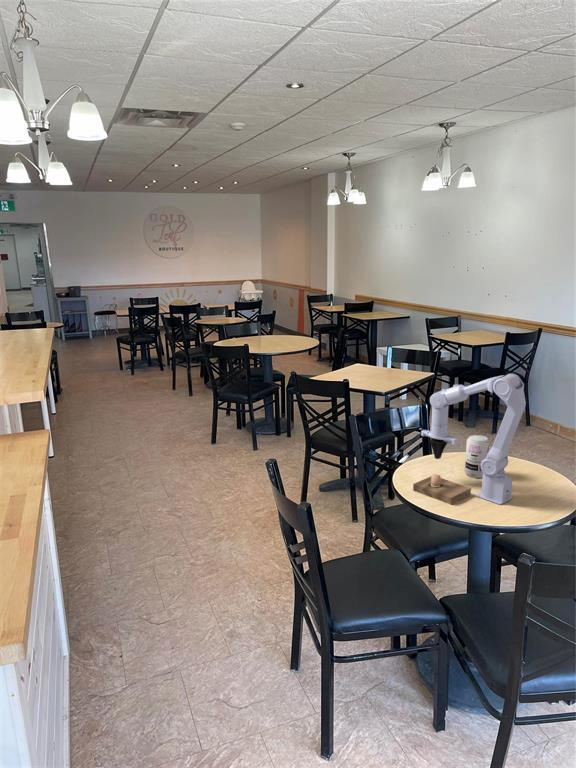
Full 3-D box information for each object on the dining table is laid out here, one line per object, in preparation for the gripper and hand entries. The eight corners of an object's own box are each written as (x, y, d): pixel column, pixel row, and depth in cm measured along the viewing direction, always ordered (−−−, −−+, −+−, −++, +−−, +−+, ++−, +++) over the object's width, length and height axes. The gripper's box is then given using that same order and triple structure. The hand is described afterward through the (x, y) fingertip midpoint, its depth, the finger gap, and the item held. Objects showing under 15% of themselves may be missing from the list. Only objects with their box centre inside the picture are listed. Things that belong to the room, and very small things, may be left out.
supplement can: (483, 470, 217) (486, 434, 214) (489, 479, 209) (491, 441, 206) (462, 470, 218) (465, 434, 215) (467, 478, 210) (469, 441, 207)
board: (470, 494, 196) (470, 488, 195) (451, 504, 188) (451, 497, 188) (432, 481, 208) (433, 475, 207) (413, 490, 200) (413, 483, 200)
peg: (441, 491, 199) (442, 475, 198) (437, 494, 197) (437, 478, 195) (433, 488, 201) (434, 473, 200) (428, 491, 199) (429, 476, 198)
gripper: (462, 425, 200) (460, 460, 203) (429, 417, 210) (428, 450, 214) (451, 429, 195) (449, 465, 198) (418, 420, 206) (416, 455, 209)
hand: (437, 458), depth 206 cm, fingers closed
